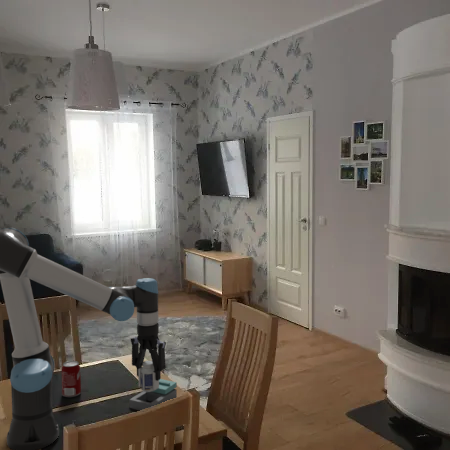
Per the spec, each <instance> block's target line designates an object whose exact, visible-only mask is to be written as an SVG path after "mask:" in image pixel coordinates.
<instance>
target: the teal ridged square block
mask: <svg viewBox="0 0 450 450" xmlns="http://www.w3.org/2000/svg"><path fill="white" fill-rule="evenodd" d="M176 388H177V382H176V381H172V380H167V379H163V378H160V380H159V388H158V389H156V390H154V391H152V392H156V393H161V394H167V393H168V392H170V391H171V390H173V389H176Z"/></svg>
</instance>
